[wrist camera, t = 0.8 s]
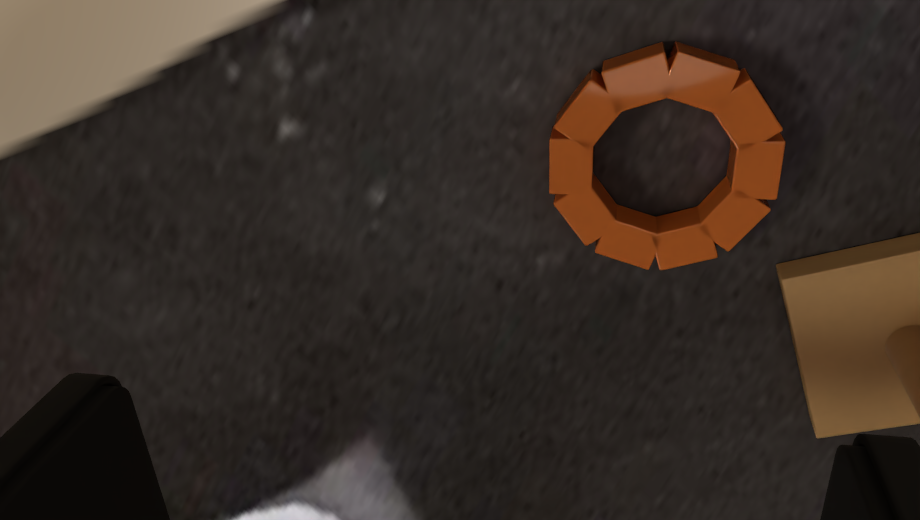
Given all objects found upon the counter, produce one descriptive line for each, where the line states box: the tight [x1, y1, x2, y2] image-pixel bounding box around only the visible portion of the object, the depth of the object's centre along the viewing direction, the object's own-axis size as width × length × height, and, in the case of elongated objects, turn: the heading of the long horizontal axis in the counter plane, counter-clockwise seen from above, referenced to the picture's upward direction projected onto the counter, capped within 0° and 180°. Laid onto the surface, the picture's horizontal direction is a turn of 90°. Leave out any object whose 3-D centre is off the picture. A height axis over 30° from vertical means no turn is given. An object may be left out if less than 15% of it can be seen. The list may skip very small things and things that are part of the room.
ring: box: [549, 42, 786, 270], centre depth 32 cm, size 9×10×2 cm
